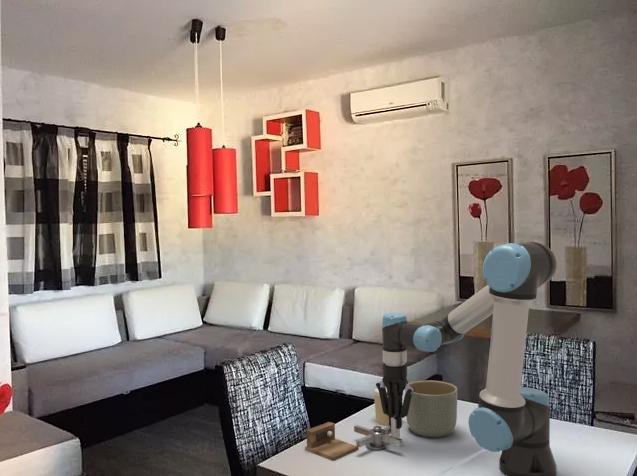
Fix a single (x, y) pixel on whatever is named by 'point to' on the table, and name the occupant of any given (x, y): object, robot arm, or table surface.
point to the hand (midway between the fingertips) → (395, 437)
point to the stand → (327, 442)
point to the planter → (432, 408)
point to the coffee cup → (380, 409)
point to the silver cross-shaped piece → (376, 437)
